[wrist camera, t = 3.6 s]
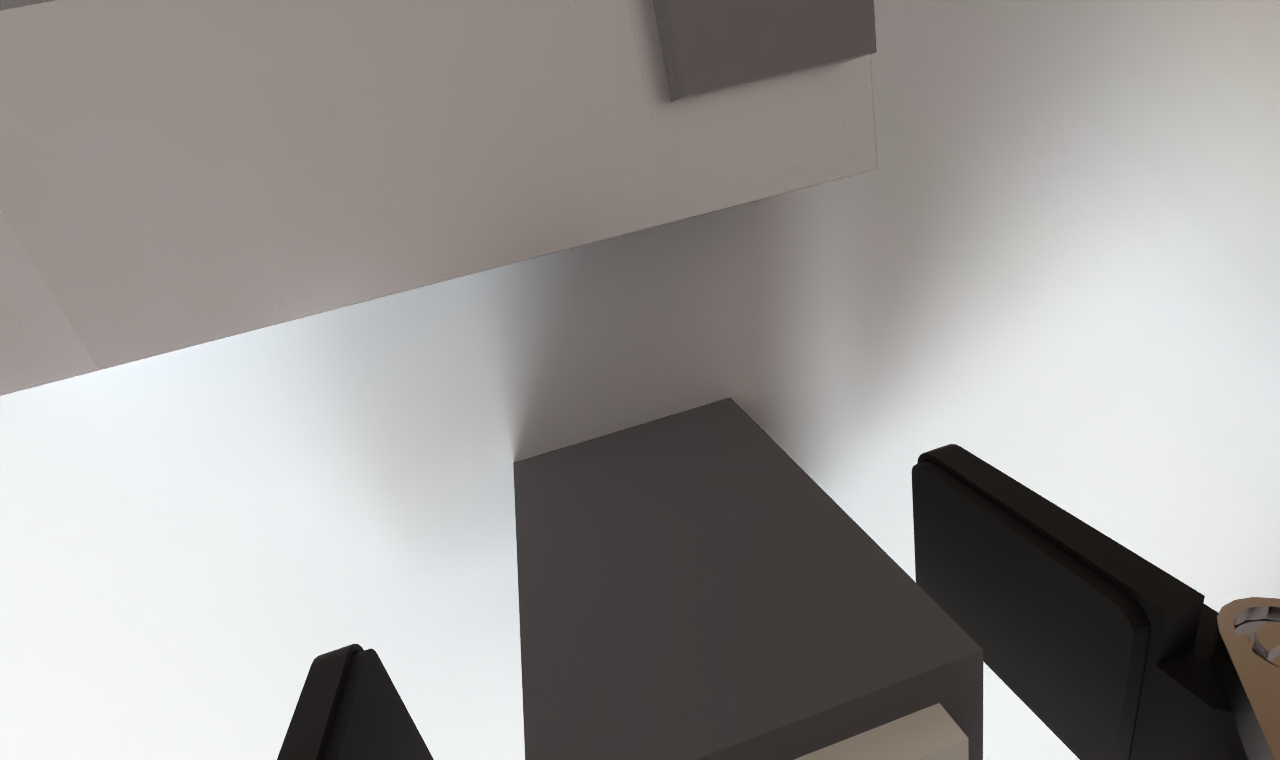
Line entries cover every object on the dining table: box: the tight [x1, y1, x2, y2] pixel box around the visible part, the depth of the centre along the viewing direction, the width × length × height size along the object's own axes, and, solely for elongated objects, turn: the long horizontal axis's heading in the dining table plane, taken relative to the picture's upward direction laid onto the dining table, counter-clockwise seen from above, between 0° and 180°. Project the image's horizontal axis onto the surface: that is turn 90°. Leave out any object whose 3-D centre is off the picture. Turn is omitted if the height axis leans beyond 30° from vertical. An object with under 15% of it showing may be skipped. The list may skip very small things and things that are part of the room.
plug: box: [514, 398, 983, 760], centre depth 9 cm, size 5×5×7 cm
